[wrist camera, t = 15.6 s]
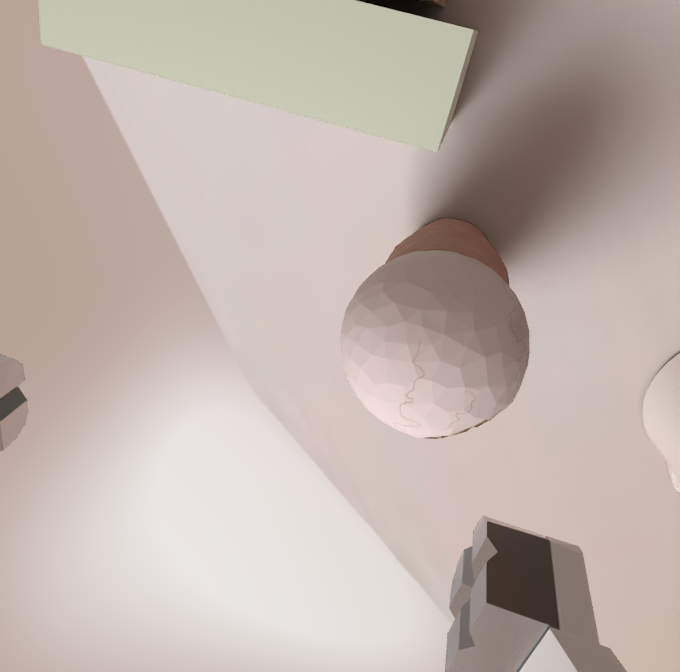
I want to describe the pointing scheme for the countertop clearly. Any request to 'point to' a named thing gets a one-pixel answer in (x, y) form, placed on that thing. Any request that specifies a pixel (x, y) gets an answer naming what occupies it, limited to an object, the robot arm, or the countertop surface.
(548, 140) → the countertop surface
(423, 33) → the cabinet
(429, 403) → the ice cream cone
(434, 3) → the wooden block with peg
